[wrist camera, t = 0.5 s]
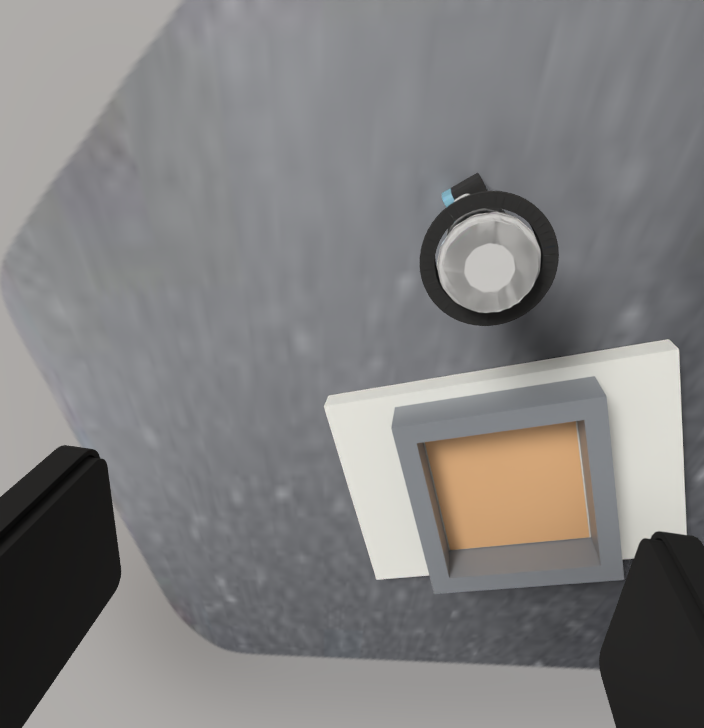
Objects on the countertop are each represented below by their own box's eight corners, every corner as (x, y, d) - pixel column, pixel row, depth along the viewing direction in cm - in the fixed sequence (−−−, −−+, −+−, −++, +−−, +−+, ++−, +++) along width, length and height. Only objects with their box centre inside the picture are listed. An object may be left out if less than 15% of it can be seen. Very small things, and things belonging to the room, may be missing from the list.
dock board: (668, 339, 31) (698, 368, 27) (678, 537, 36) (704, 584, 32) (328, 395, 36) (315, 426, 32) (378, 564, 41) (372, 607, 37)
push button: (553, 263, 30) (600, 325, 21) (464, 307, 32) (472, 382, 23) (500, 151, 29) (527, 166, 19) (409, 204, 30) (393, 240, 21)
